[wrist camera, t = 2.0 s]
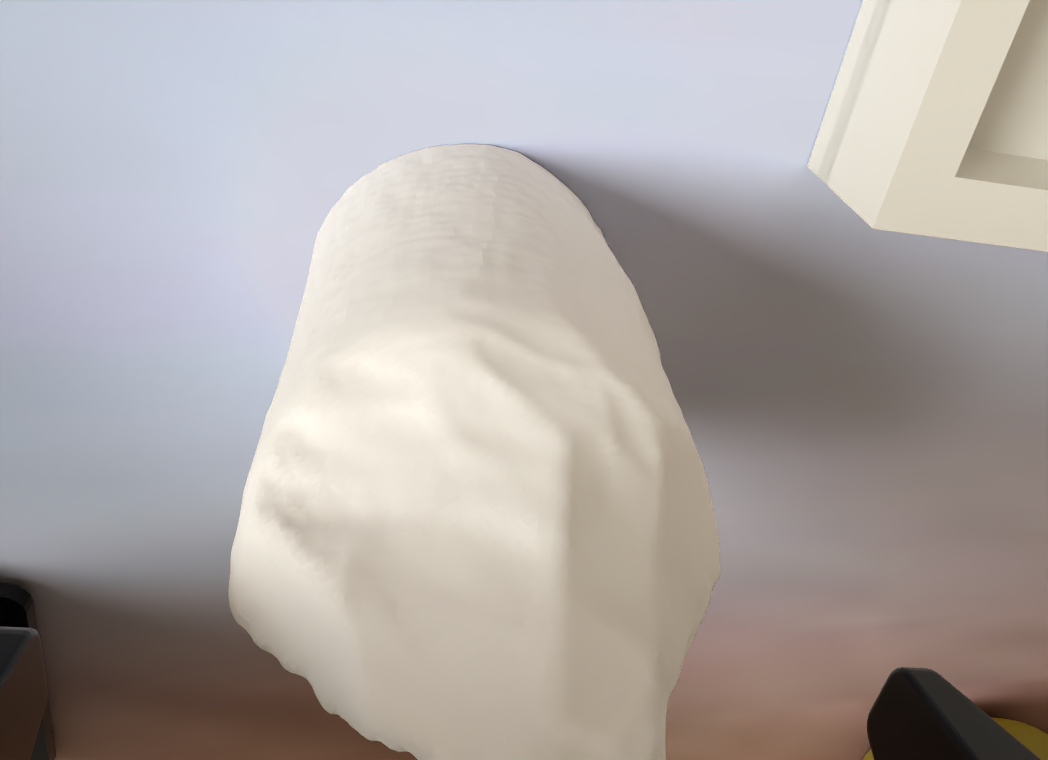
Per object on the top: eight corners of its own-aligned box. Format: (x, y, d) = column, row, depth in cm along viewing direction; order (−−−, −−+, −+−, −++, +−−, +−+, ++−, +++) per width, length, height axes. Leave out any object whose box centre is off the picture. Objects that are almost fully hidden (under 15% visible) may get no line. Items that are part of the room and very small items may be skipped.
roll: (115, 1035, 8) (187, 598, 6) (288, 362, 18) (343, 89, 16) (713, 1061, 10) (1002, 719, 7) (568, 420, 20) (664, 179, 17)
